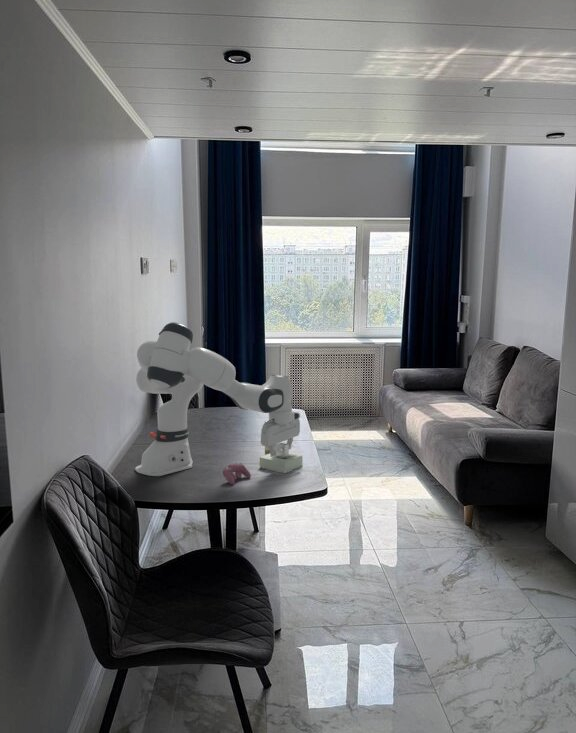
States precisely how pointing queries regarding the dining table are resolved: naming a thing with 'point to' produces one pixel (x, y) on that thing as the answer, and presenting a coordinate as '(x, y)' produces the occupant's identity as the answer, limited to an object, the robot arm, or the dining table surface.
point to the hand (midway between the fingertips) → (280, 452)
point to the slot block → (281, 462)
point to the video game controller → (238, 470)
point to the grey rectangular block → (282, 450)
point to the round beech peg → (267, 450)
